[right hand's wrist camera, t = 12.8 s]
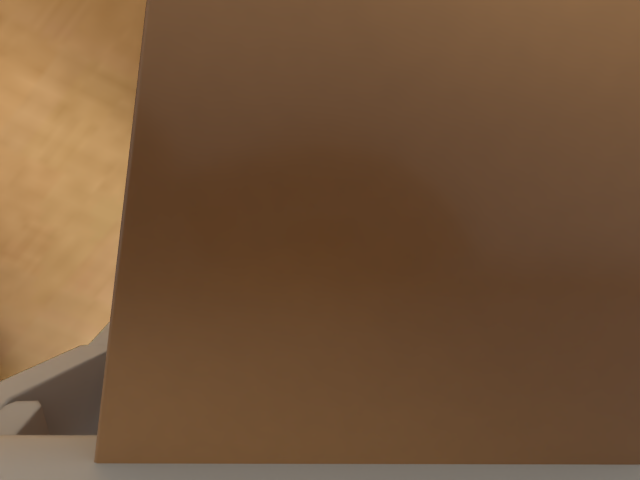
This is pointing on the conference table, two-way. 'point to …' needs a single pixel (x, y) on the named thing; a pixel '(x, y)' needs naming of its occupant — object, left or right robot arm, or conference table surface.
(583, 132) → the bar
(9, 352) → the conference table surface
